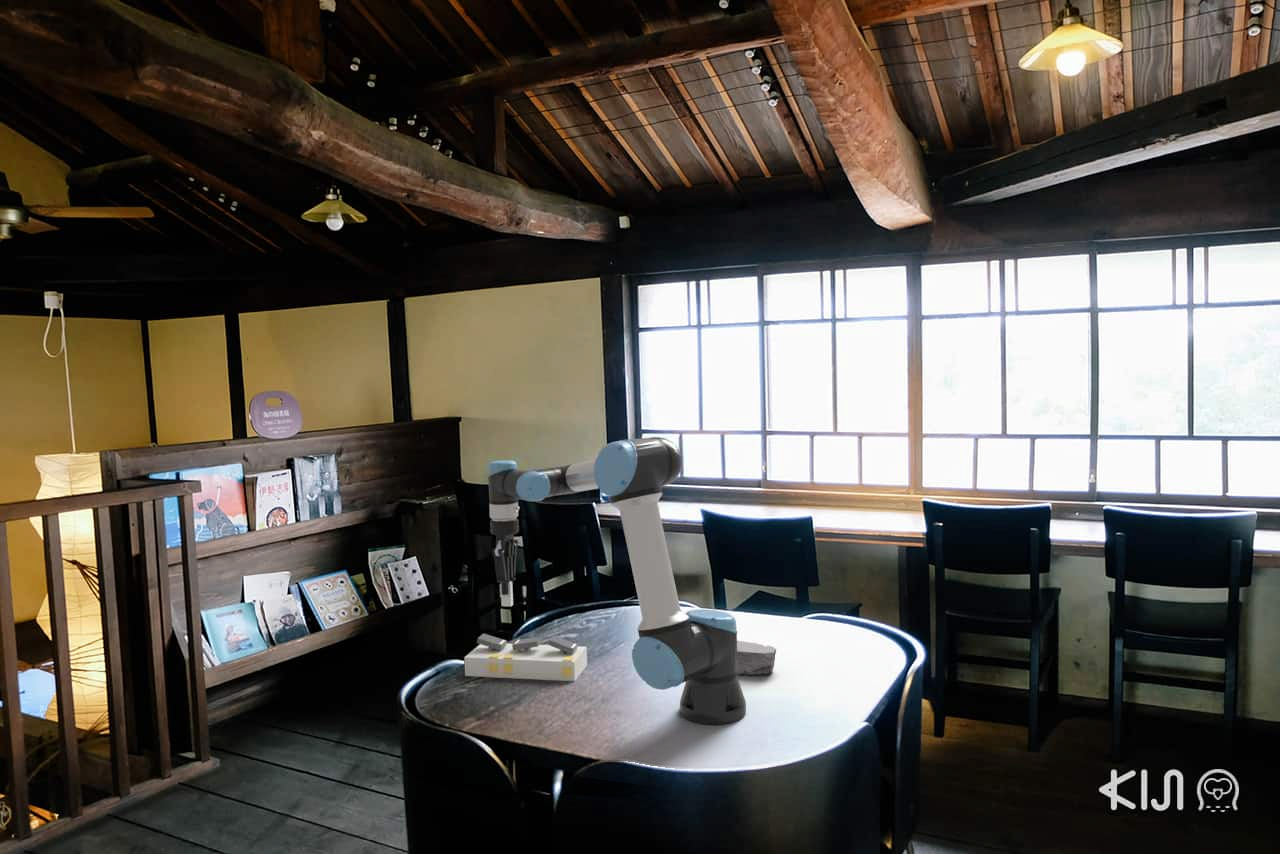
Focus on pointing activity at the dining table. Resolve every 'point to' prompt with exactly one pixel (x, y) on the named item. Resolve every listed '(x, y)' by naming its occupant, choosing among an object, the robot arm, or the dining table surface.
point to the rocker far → (492, 642)
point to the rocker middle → (527, 643)
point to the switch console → (526, 663)
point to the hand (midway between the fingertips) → (507, 605)
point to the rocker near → (563, 644)
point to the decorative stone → (754, 659)
